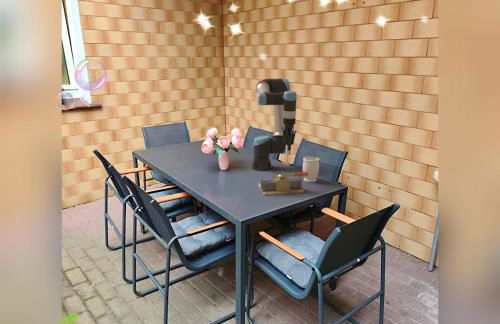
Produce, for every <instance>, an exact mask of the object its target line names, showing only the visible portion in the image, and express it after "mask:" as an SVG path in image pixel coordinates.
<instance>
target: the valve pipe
mask: <svg viewBox="0 0 500 324" xmlns="http://www.w3.org/2000/svg"><path fill="white" fill-rule="evenodd" d="M260 183H261V190H262V191H263V192H265V191H271V190H276V192H279V191H289V189H303V187H302V184H303V180H302V178H300V176H296V178H289V176H284V178H279V177H278V175H273V176H272V179H270V180H269V179H268V180H264V179H263V178H261V179H260ZM261 190H260V191H261ZM262 191H261V192H262Z"/></svg>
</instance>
